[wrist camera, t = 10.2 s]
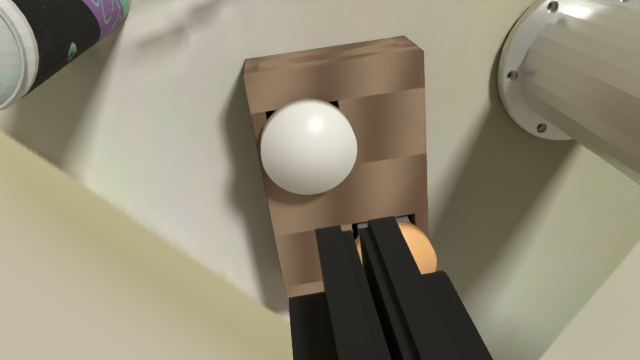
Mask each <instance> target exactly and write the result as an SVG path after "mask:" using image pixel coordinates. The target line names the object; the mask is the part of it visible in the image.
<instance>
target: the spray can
mask: <svg viewBox="0 0 640 360" xmlns="http://www.w3.org/2000/svg"><path fill="white" fill-rule="evenodd" d="M130 2H131V0H0V110H3V109H6V108H7V107H9V106H11V105H13V104H14V103H16V102H17V101H19V100H20V99H21V98H23V97H24V96H25V95H27V94H28V93H29V92H31V91H32V90H33V89H35V88H36V87H38V86H39V85H40V84H42V83H43V82H44V81H46V80H47V79H48V78H50V77H51V76H52V75H54V74H55V73H56V72H58V71H59V70H60V69H62V68H63V67H64V66H66V65H67V64H68V63H70V62H71V61H73V60H74V59H75V58H77V57H78V56H79V55H81V54H82V53H83V52H85V51H86V50H87V49H89V48H90V47H91V46H93V45H94V44H95V43H97V42H98V41H99V40H101V39H102V38H103V37H105V36H106V35H107V34H109V33H110V32H112V31H113V30H114V29H116V28H117V27H118V26H119V25H120V24H121V23H122V22H123V20H124V19H125V17H126V16H127V14H128V11H129V9H130Z"/></svg>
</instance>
